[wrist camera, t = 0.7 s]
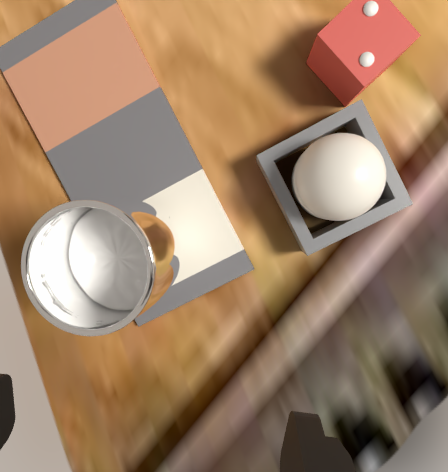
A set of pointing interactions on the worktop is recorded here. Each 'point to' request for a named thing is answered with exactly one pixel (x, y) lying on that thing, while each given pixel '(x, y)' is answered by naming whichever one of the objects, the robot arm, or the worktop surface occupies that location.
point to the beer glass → (104, 261)
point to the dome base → (349, 117)
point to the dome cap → (339, 177)
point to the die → (360, 46)
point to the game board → (118, 133)
